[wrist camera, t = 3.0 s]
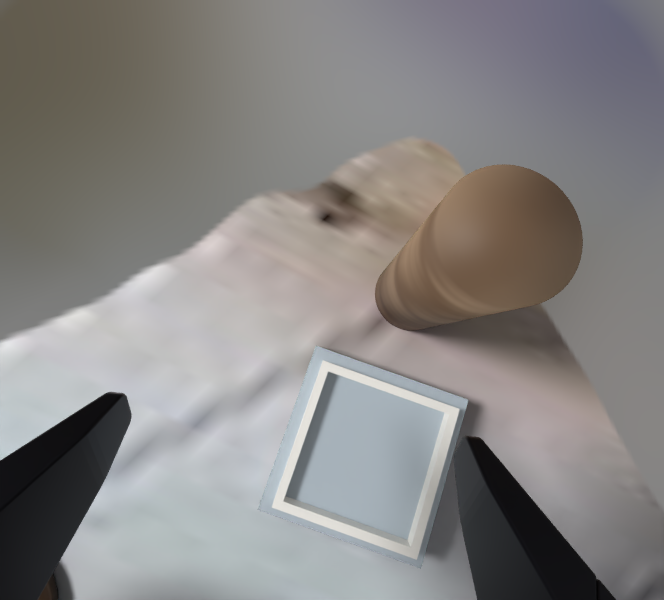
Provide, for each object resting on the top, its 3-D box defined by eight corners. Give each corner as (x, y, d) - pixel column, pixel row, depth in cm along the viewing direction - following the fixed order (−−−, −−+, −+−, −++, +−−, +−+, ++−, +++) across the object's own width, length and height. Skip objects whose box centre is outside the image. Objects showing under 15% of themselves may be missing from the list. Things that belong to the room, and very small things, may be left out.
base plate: (411, 549, 22) (424, 577, 20) (263, 495, 23) (255, 516, 20) (455, 395, 24) (474, 401, 21) (316, 346, 24) (315, 345, 21)
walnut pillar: (460, 293, 25) (611, 232, 12) (413, 345, 24) (520, 339, 11) (407, 245, 25) (500, 136, 12) (360, 295, 25) (406, 235, 12)
